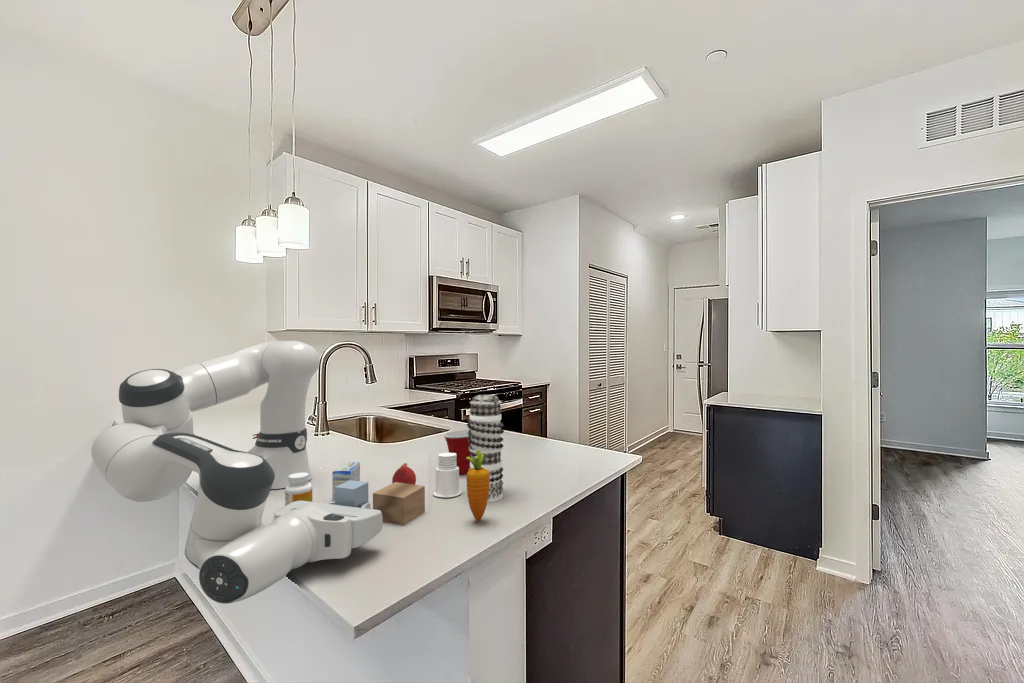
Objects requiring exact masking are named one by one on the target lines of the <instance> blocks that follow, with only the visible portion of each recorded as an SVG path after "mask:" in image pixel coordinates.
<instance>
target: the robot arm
mask: <svg viewBox="0 0 1024 683" xmlns="http://www.w3.org/2000/svg"><path fill="white" fill-rule="evenodd" d="M320 362H321V360H320V356H319V353H318V351H317V349H315V347H313V346H312V345H309V344H308V343H306V342H302V341H299V340H269V341H265V342H262V343H258V344H255V345H252V346H249V347H246V348H243V349H241V350H238V351H235V352H233V353H230V354H226V355H223V356H219V357H215V358H211V359H207V360H204V361H201V362H196V363H193V364H189V365H186V366H184V367H183V366H182V367H180V368H177V369H176V370H173V371H171V370H168V369H164V368H152V369H145V370H141V371H138V372H135V373H132V374H130V375H129V376H127V377H126V378H125V379H124V380H123V381H122V382H121V383H120V384H119V389H118V401H119V402H120V404H121V413H122V419H123V423H118V424H114V425H112V426H110V427H108V428H106V429H104V430H103V431H102V432H101V433H99V435H97V437H96V438H95V440H94V441H93V443H92V446H91V449H90V450H91V451H90V454H91V455H90V456H91V458H92V462H93V464H94V465H95V468H96V469H97V471H98V472H99V474H100V475H101V477H102V478H103V479H104V481H105V482H106V483H107V484H108V485H109V486H110V487H111V488H113V490H114V491H116V492H117V494H119V495H120V496H122V497H123V498H125V499H127V500H129V501H133V502H137V503H138V502H139V503H142V502H144V503H145V502H153V501H158V500H160V499H163V498H165V497H168V496H169V495H171V494H173V493H174V492H176V491H177V490H179V489H180V488H181V487H182V486H183V485H185V483H186V482H188V479H189V478H190V476H191V475H192V472H195V473H197V474H198V478H199V480H198V483H199V484H198V491H197V496H196V497H197V498H196V502H195V504H194V510H193V514H192V516H191V521H190V524H189V528H188V532H187V538H186V541H185V547H184V555H185V558H186V560H188V562H189V563H190V564H191V565H192V566H193V567H194V568H197V569H198V570H199V573H198V581H199V584H200V587H201V589H202V591H203V592H204V594H205V595H206V596H207V597H208V598H209V599H210V600H212V601H214V602H216V603H219V604H225V605H227V604H234V603H237V602H240V601H245V600H246V599H249V598H251V597H253V596H255V595H258V594H259V593H261V592H263V591H265V590H266V589H269V587H271V586H272V585H274V584H276V583H277V582H279V581H280V580H282V579H283V578H284V577H286V576H287V575H288V573H289V572H290V571H291V570H295V569H298V568H300V567H302V566H303V565H306V564H307V563H313V562H314V563H315V562H319V561H323V560H324V561H325V560H335V559H338V560H340V559H345V558H347V557H349V556H350V555H351V552H352V549H356V548H358V547H361V546H363V545H364V544H366V543H367V542H369V541H370V540H372V539H373V538H375V537H376V536H378V534H380V532H382V529H383V523H384V522H383V520H382V513H381V511H380V510H374V509H373V508H371V503H370V502H369V503H364V502H363V503H362V504H360V505H359V508H358V507H350V506H342V505H335V501H334V502H332V501H331V502H330V501H329V502H315V501H312V502H309V501H295V502H292V503H290V504H288V505H286V506H285V505H284V506H282V507H281V508H279V509H277V510H276V511H275V512H274V514H273V517H270V518H268V519H266V520H265V521H264V520H263V519H262V518H263V515H264V510H265V507H266V503H267V499H268V497H269V494H270V492H271V490H279V489H286V487H287V486H288V485H290V483H289V482H288V480H289V475H291V474H295V473H303V472H304V473H308V474H309V480H308V482H309V481H310V480H312V479H313V475H312V472H311V468H310V463H309V458H308V457H309V456H308V449H307V441H308V429H307V427H306V403H307V402H306V401H307V400H306V399H307V395H308V392H309V391H308V390H309V387H310V384H311V380H312V378H313V376H314V375H315V374H316V373H317V372H318V369H319V366H320ZM265 384H268V385H267V388H266V392H265V395H264V397H263V399H262V400H261V402H260V406H259V407H260V408H259V410H260V411H259V412H260V415H259V416H260V420H259V421H260V430H259V432H258V433H255V434H252V436H253V437H252V439H253V440H254V439H256V441H255V443H254V446H253V447H252V448H251V449H249V450H248V451H243V450H242V451H241V450H237V449H233V448H231V447H229V446H226V445H223V444H220V443H218V442H215V441H213V440H210V439H207V438H205V437H202V436H199V435H197V434H194V421H193V420H194V419H193V413H194V412H198V411H201V410H204V409H208V408H211V407H213V406H216V405H217V406H218V405H220V404H222V403H226V402H228V401H231V400H234V399H237V398H240V397H243V396H246V395H248V394H249V393H250V392H252V391H253V390H255V389H257V388H259V387H260V386H263V385H265Z"/></svg>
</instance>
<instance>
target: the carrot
mask: <svg viewBox="0 0 1024 683" xmlns="http://www.w3.org/2000/svg"><path fill="white" fill-rule="evenodd" d="M476 453H477V456H475V457H474V458H475V460H473V459H472V458H470V457H467V458H466V459H467V460H469V461H470V462H471V463H472V464H473V466H474V468H471V469H470V470H469V471H468V472H467V474H466V494H467V499H468V504H469V509H470V511H471V514H472V516H473V517H474V519H475V521H476V522H477V523H479V522H480V521H482V518H483V516H484V514H485V511H486V509H487V505H488V502H487V501H488V495H489V476H490V474H489V471H488V470H487V469H485V468H483V467H481V465H482V462H483V459H484V455H483V454H481V451H480V450H477V451H476Z"/></svg>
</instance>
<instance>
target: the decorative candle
mask: <svg viewBox="0 0 1024 683" xmlns="http://www.w3.org/2000/svg"><path fill="white" fill-rule="evenodd" d="M502 402H503V401H501V400H500V399H499V397H498V396H497V395H495V394H478V395H475V396H473V398H472V399H471V401H469V404H470V408H469V410H470V411H469V412H470V413H469V417H468V418H467V419H466V420H467V423H466V427H467V429H470V430H469V431H468V435H469V438H468V442H469V443H471V444H470V445H469V446H468V448H469V451H471V458H472V459H473V460H475V458H474V457H475V456H477V453H476V451H477V450H480V451H481V454H483V455H484V459H483V462H482V465H481V467H483V468H485V469H487V470H488V471H489V474H490V476H489V495H488V501H487V503H493V502H497V501H500V500H501V499H502V498H503V497H504V494H503V491H504V488H503V485H504V481H503V480H502V479H503V477H504V474H503V471H504V468H503V464H502V463H503V462H502V461H503V460H502V458H501V456H502V453H501V451H503V447H504V444H502V442H503V441H504V438H503V437H502V436H501V435H502V434H503V433H505V430H504V429H502V428H503V427H505V424H504V423H503V422H501V420H502V412H501V409H502V407H501V404H502ZM471 468H474V466H473V464H472V463H471V462H470V468H469V470H470V469H471Z"/></svg>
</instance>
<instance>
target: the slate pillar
mask: <svg viewBox="0 0 1024 683" xmlns="http://www.w3.org/2000/svg"><path fill="white" fill-rule="evenodd" d="M369 501H370V500H369V481H361V480H360V481H353V480H349V481H347V482H345V483H343V484H340V485H338V486H336V487H335V505H342V506H350V507H358V508H359V505H360V504H362V503H363V502H364V503H370V502H369Z"/></svg>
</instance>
